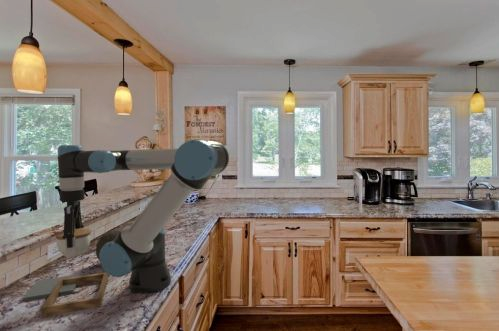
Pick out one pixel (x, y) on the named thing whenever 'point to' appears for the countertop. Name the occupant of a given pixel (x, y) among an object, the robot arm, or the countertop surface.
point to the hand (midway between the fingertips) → (74, 251)
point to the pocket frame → (78, 305)
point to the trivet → (49, 288)
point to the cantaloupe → (105, 240)
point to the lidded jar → (81, 241)
